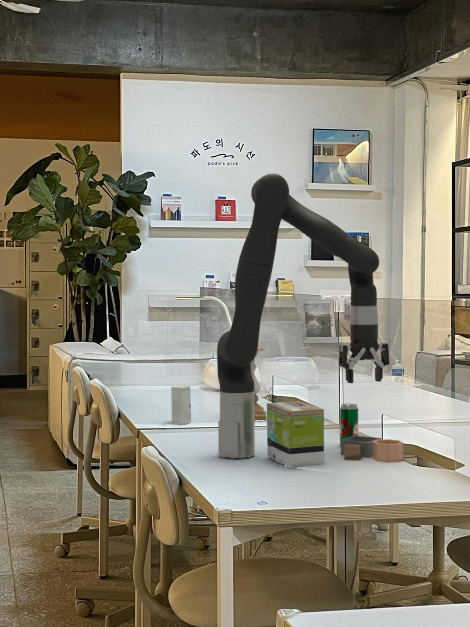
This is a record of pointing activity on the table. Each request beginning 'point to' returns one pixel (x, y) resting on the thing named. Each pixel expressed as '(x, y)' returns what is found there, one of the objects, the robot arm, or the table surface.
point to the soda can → (348, 421)
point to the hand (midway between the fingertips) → (364, 382)
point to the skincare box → (181, 404)
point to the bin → (360, 440)
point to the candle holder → (259, 410)
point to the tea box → (295, 433)
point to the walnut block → (352, 452)
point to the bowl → (388, 450)
